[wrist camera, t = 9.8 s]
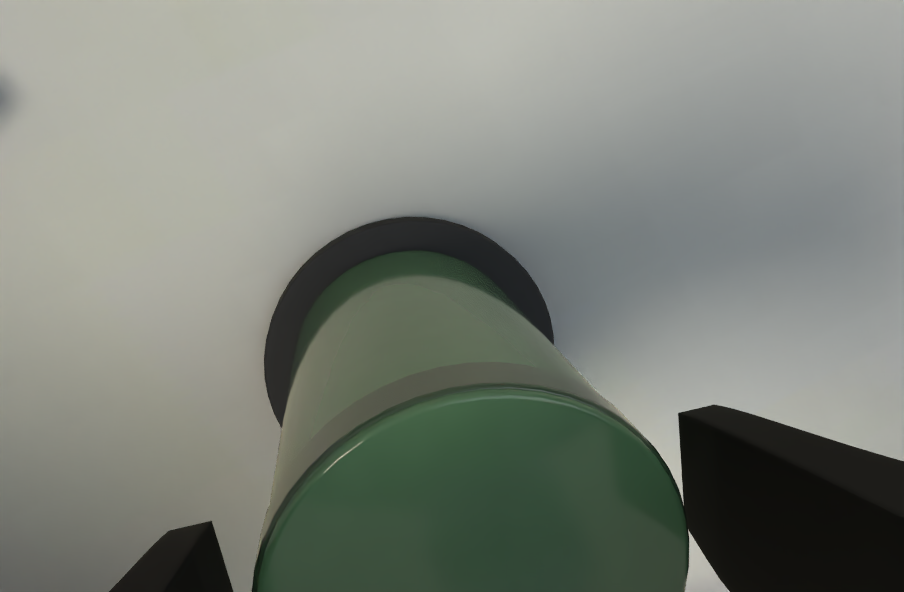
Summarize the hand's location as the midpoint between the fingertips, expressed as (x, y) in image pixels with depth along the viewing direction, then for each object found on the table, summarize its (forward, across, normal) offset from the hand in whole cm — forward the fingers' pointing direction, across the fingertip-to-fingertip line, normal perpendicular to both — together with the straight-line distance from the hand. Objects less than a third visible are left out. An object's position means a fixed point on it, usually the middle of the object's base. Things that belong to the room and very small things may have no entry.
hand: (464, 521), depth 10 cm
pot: (+6, 0, 0) cm, 6 cm away
